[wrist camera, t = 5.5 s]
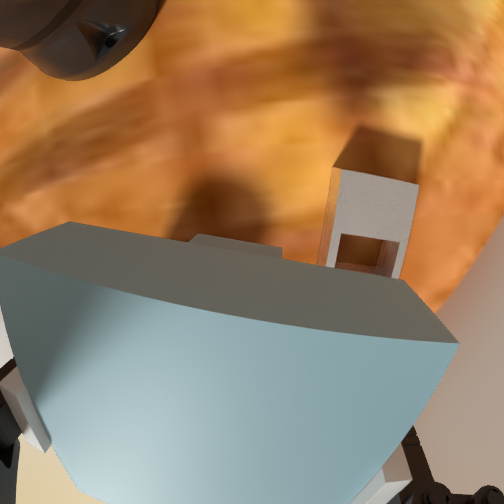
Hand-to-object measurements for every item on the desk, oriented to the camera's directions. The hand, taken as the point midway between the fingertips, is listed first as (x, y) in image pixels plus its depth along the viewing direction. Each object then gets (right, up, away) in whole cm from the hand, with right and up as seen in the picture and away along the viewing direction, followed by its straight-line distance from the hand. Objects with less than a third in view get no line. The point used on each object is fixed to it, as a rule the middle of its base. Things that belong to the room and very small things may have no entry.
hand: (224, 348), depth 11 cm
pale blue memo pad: (0, 0, 0) cm, 0 cm away
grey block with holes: (+10, +1, +16) cm, 19 cm away
